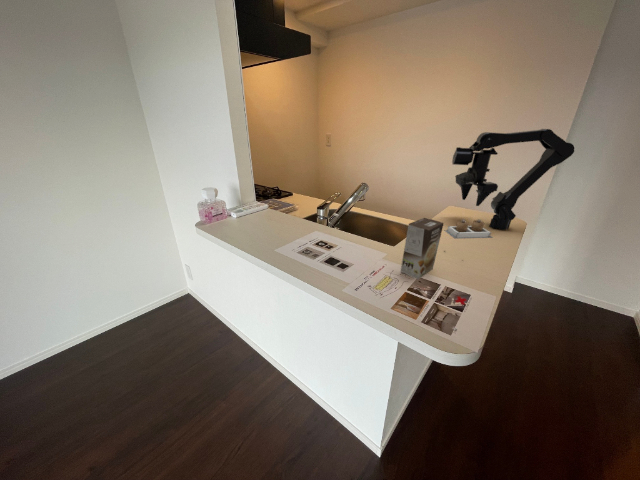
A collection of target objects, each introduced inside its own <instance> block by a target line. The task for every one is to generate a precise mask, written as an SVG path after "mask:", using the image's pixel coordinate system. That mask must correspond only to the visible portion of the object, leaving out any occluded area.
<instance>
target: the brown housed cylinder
mask: <svg viewBox="0 0 640 480" xmlns="http://www.w3.org/2000/svg"><path fill="white" fill-rule="evenodd" d="M471 226H472V227H471V230H472V231H474V232H482V230H483V228H484V226H485V222H484V221H482V220H481V219H477V220H473V221H472V223H471Z"/></svg>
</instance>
